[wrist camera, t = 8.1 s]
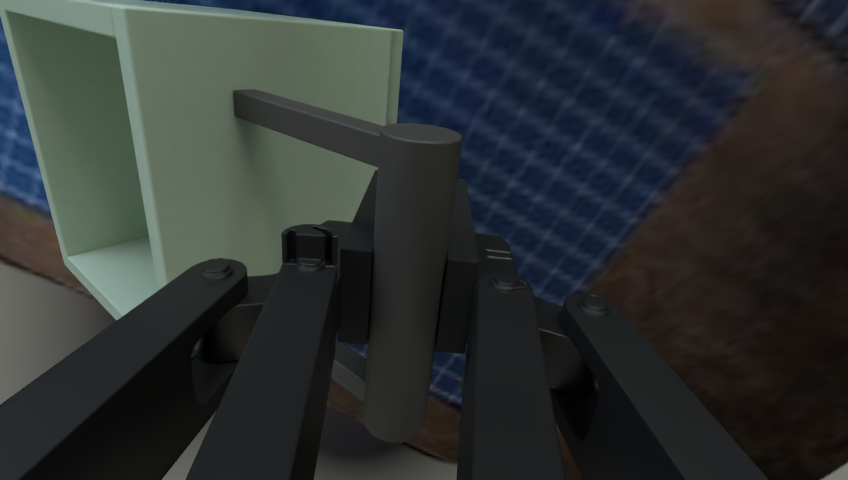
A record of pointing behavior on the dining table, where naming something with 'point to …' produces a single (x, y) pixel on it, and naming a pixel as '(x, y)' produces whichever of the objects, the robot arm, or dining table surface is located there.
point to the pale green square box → (238, 162)
